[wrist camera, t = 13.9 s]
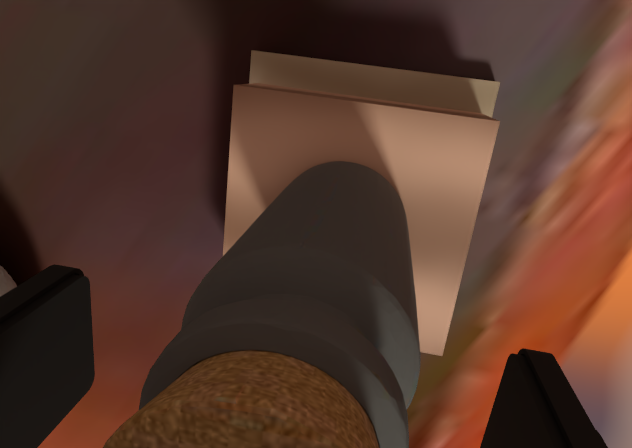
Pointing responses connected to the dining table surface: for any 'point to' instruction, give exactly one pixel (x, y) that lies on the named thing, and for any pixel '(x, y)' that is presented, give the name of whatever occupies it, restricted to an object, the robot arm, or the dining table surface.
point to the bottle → (295, 329)
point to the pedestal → (370, 155)
